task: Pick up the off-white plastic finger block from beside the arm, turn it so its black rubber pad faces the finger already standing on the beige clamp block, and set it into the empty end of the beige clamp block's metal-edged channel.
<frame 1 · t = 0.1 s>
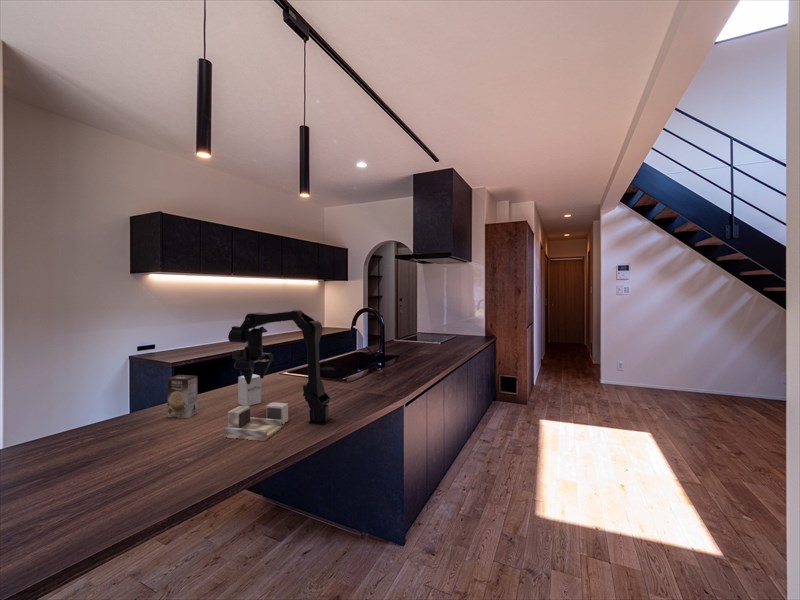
hand: (255, 381, 143), 15 cm above the table, tool pointing down, fingers open, 9 cm apart
supplement box: (249, 403, 159), on the table
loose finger: (277, 422, 137), on the table
coffee box: (182, 415, 144), on the table
beige clamp block: (253, 432, 127), on the table
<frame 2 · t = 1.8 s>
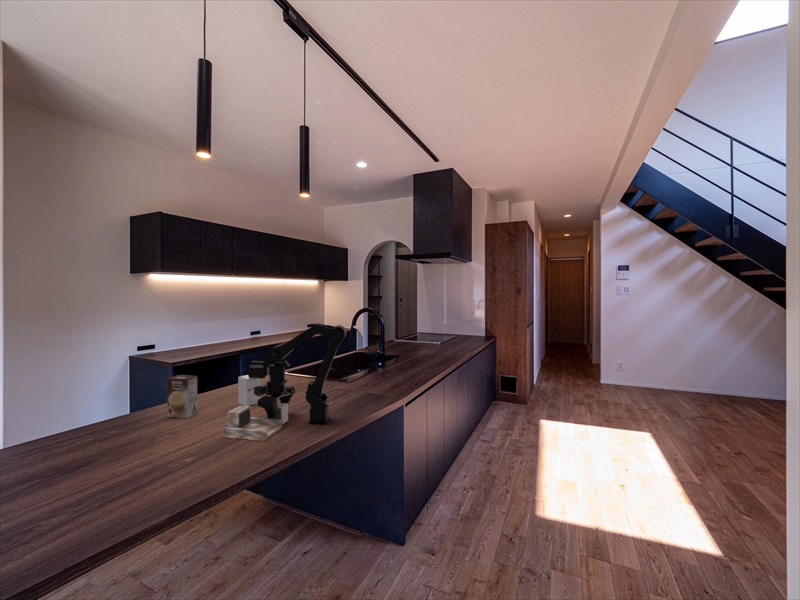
hand: (277, 417, 137), 2 cm above the table, tool pointing down, fingers open, 8 cm apart
nothing on the table moved.
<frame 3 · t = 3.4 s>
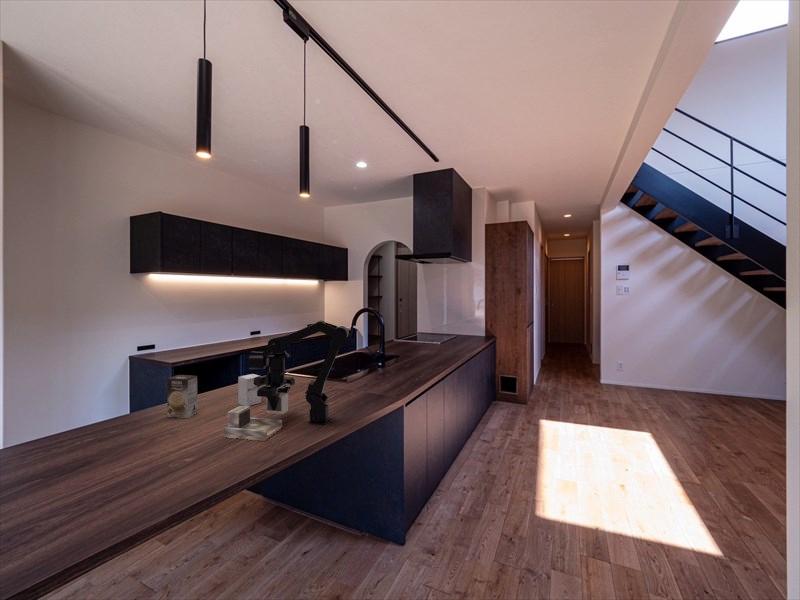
hand: (277, 408, 137), 6 cm above the table, tool pointing down, fingers closed on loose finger, 5 cm apart
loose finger: (277, 411, 137), point 4 cm above the table, touching gripper
everything else where it was.
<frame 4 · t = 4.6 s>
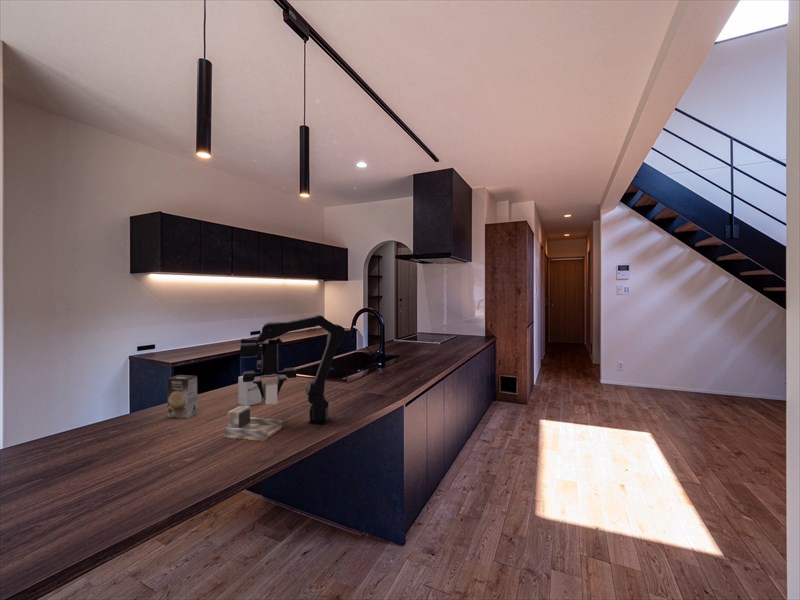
hand: (269, 397, 131), 12 cm above the table, tool pointing down, fingers closed on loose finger, 5 cm apart
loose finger: (270, 401, 131), point 10 cm above the table, touching gripper
everything else where it was.
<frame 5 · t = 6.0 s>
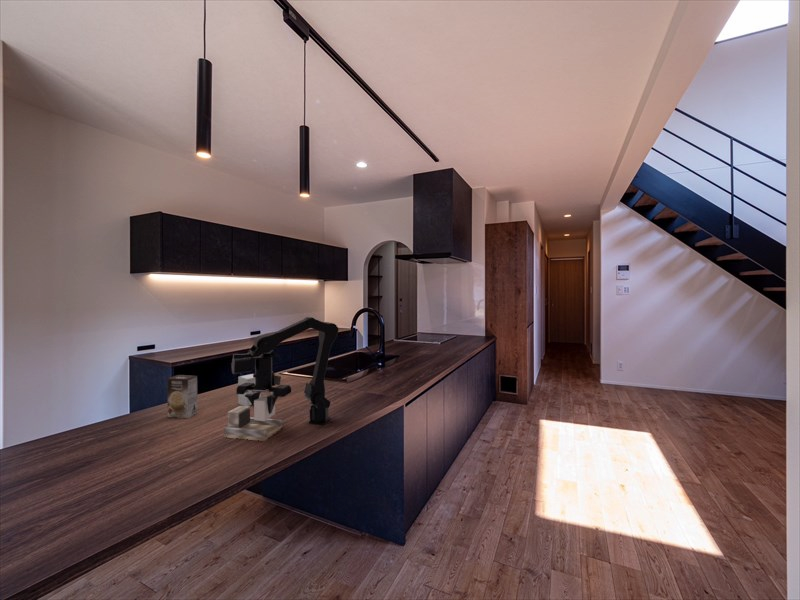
hand: (264, 412, 126), 7 cm above the table, tool pointing down, fingers closed on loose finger, 5 cm apart
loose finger: (264, 417, 126), point 6 cm above the table, touching gripper
everything else where it was.
when the fingers open (4 cm above the table, at t = 7.2 s): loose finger drops 1 cm, resting on beige clamp block.
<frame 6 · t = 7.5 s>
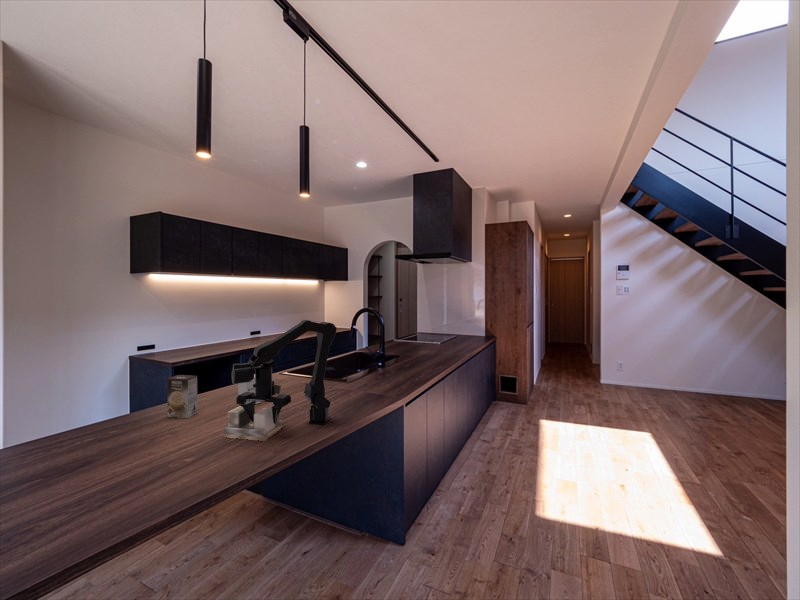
hand: (264, 422, 126), 4 cm above the table, tool pointing down, fingers open, 8 cm apart
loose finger: (264, 430, 126), point 1 cm above the table, touching beige clamp block
everything else where it was.
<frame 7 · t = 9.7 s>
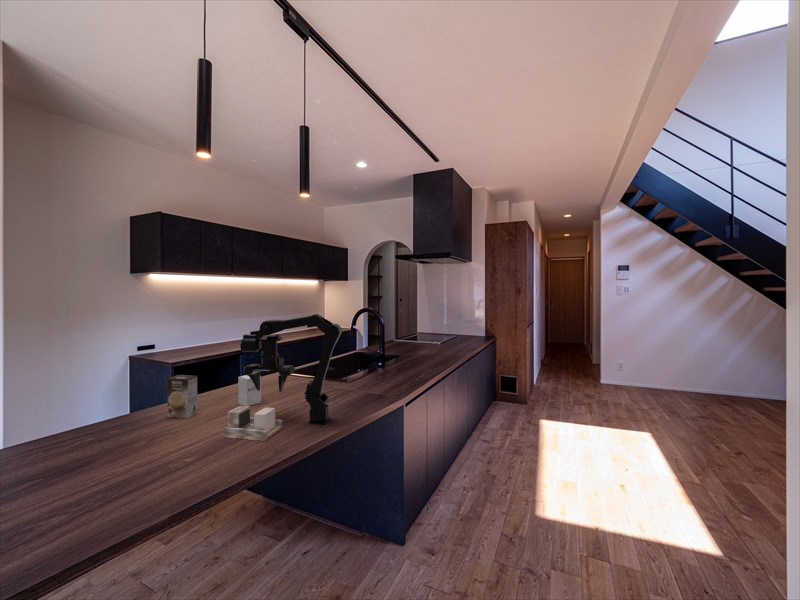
hand: (269, 391, 137), 12 cm above the table, tool pointing down, fingers open, 9 cm apart
nothing on the table moved.
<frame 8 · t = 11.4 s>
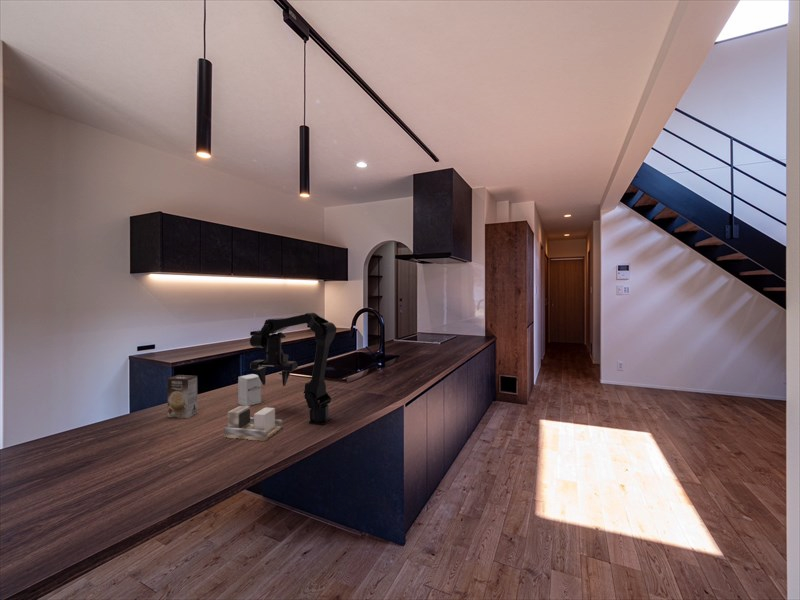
hand: (274, 385, 146), 12 cm above the table, tool pointing down, fingers open, 9 cm apart
nothing on the table moved.
at the end: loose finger 0.3 cm from the target spot on the beige clamp block, point 1.2 cm above the beige clamp block's base; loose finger tilted 0°; the gripper is holding nothing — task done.
